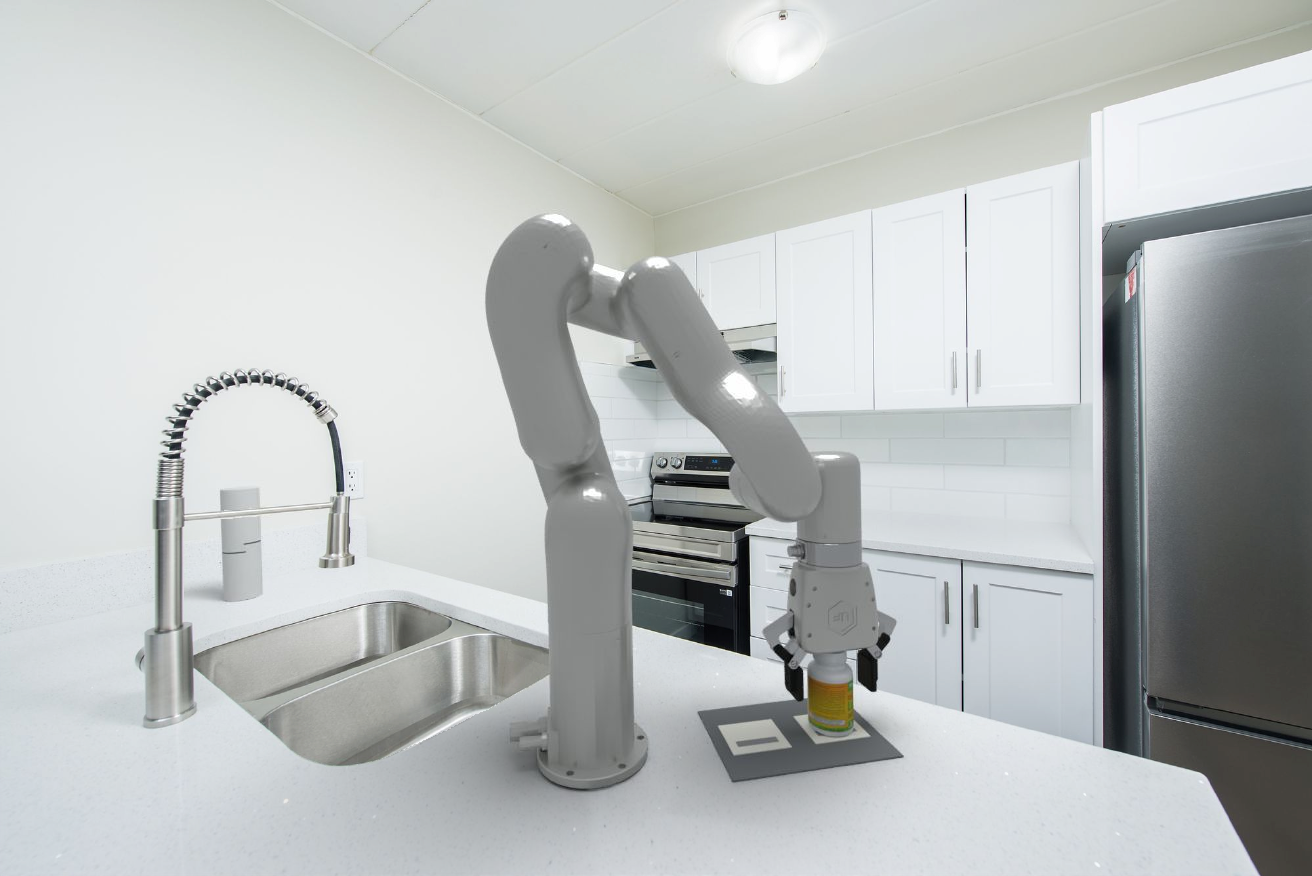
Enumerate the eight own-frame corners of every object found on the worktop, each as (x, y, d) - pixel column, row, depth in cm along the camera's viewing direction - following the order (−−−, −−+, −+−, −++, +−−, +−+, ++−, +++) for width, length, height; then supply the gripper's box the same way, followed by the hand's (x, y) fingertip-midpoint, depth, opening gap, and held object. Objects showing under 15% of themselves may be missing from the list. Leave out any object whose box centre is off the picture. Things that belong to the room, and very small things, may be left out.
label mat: (732, 782, 56) (732, 779, 56) (697, 712, 70) (697, 710, 70) (903, 757, 60) (903, 754, 60) (838, 695, 73) (838, 693, 73)
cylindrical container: (268, 594, 124) (265, 487, 123) (231, 603, 118) (227, 490, 117) (254, 590, 128) (251, 486, 127) (218, 598, 122) (214, 489, 121)
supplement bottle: (857, 740, 62) (856, 657, 62) (809, 735, 63) (808, 654, 63) (850, 716, 68) (849, 639, 67) (806, 712, 69) (805, 637, 69)
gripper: (774, 565, 60) (778, 716, 60) (912, 554, 63) (914, 698, 63) (750, 550, 67) (753, 685, 68) (875, 541, 70) (877, 670, 71)
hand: (831, 691), depth 65 cm, fingers open, 9 cm apart
